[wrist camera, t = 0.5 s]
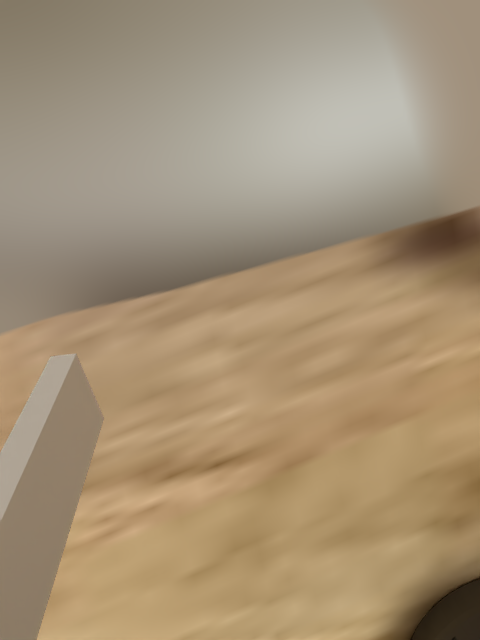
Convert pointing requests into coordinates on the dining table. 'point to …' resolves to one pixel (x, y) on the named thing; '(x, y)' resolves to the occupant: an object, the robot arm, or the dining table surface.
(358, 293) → the dining table surface
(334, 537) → the dining table surface
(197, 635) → the dining table surface
